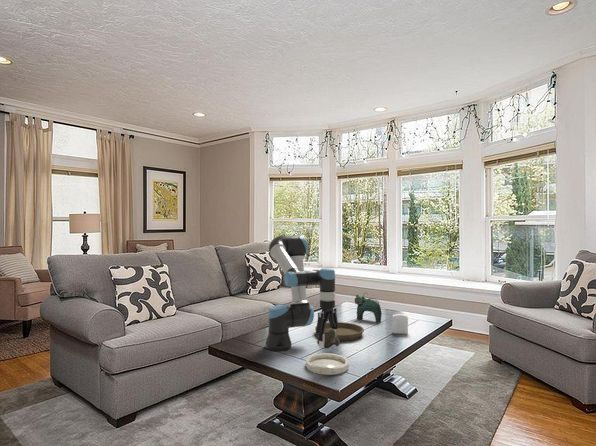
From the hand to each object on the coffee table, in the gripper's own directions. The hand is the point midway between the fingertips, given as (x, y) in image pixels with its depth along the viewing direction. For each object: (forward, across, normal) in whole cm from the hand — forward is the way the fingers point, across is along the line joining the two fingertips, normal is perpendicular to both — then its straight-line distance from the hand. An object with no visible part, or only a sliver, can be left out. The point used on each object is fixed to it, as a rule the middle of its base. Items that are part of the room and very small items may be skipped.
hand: (327, 344), depth 186 cm
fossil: (+1, 0, 0) cm, 1 cm away
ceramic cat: (+11, +94, +23) cm, 98 cm away
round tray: (+11, 0, 0) cm, 11 cm away
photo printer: (+11, +76, -8) cm, 77 cm away
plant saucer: (+11, +50, +22) cm, 56 cm away
